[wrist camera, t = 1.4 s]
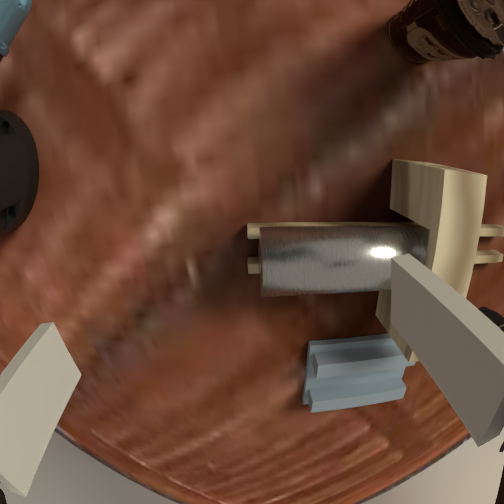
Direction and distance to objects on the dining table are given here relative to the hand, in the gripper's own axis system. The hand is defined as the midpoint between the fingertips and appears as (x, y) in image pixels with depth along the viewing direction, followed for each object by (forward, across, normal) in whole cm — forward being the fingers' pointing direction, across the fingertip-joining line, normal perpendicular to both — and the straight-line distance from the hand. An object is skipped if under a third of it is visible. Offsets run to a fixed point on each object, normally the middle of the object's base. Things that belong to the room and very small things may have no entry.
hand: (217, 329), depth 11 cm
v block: (+21, +12, -24) cm, 34 cm away
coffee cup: (+21, +23, +15) cm, 35 cm away
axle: (+16, +11, -6) cm, 21 cm away
